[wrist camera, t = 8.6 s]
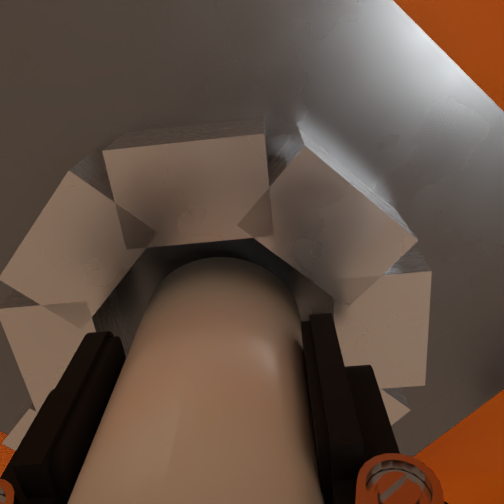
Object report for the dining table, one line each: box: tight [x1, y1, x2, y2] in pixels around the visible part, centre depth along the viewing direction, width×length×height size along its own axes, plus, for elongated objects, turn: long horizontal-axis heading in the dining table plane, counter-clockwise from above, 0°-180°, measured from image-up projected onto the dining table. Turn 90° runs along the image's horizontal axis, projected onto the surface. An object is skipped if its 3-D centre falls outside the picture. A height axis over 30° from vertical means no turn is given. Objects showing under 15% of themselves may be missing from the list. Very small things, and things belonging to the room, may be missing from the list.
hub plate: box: [0, 0, 504, 457], centre depth 14 cm, size 18×18×3 cm
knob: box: [67, 257, 325, 504], centre depth 10 cm, size 5×4×8 cm
